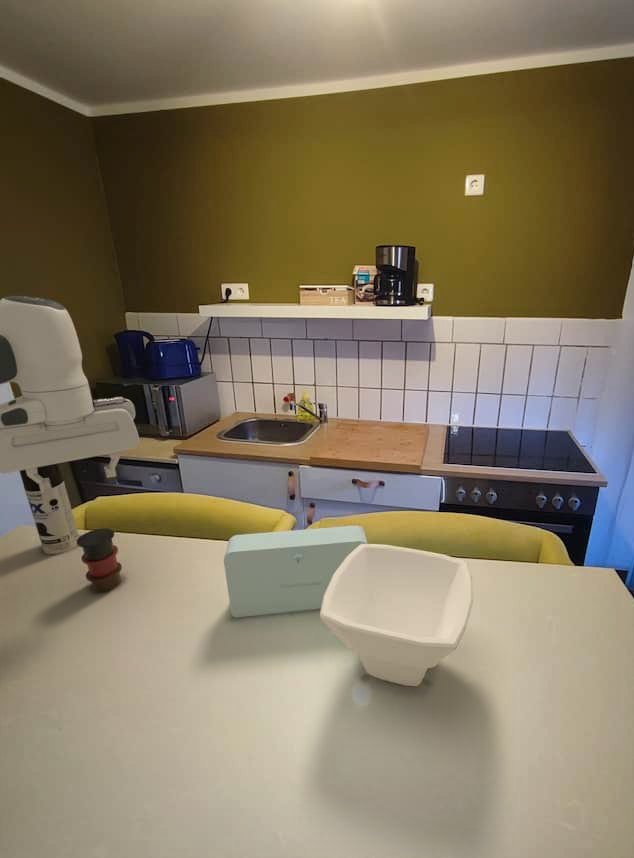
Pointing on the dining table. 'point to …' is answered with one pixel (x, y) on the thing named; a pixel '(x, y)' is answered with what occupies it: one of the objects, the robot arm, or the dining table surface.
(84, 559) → the pod burgundy
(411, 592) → the bowl
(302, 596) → the mint green box
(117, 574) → the pod brown
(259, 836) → the dining table surface
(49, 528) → the spray can
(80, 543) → the pod black
